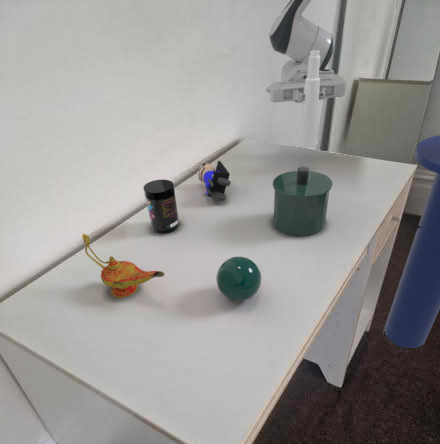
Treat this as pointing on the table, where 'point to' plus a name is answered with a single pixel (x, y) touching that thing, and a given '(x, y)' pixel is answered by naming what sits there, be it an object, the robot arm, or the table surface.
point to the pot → (300, 214)
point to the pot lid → (302, 183)
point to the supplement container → (162, 205)
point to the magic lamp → (121, 274)
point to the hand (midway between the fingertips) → (312, 97)
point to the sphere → (238, 278)
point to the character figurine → (214, 180)
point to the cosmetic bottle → (310, 104)
